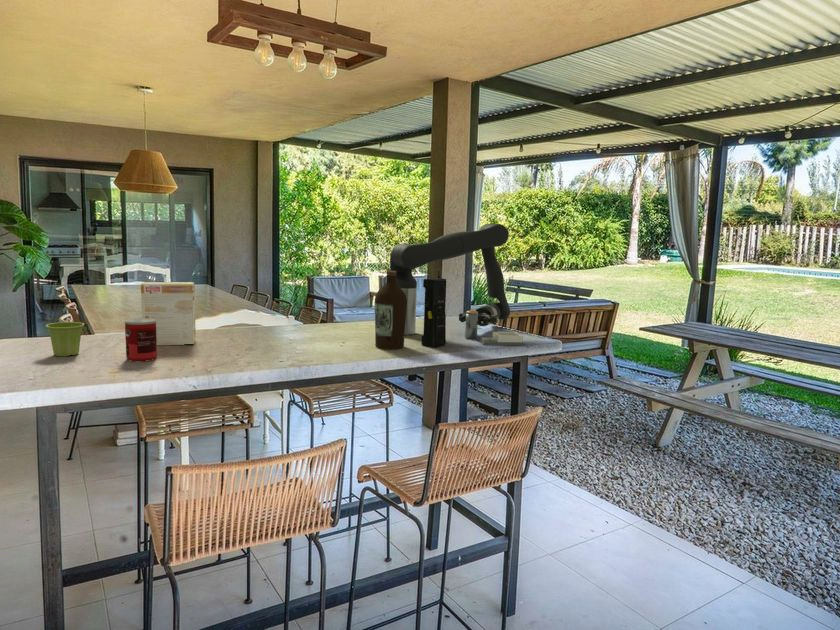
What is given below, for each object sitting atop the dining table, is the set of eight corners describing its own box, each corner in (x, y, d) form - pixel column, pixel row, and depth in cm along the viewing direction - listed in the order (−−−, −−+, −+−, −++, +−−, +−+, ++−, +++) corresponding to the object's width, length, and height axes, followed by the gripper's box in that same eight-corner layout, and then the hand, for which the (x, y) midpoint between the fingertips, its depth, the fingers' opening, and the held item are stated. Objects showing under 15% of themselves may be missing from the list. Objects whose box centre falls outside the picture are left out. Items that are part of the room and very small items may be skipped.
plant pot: (90, 351, 173) (89, 322, 172) (78, 358, 164) (76, 327, 163) (56, 351, 172) (54, 321, 170) (41, 358, 162) (39, 327, 161)
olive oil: (385, 342, 202) (387, 269, 199) (411, 346, 196) (414, 271, 193) (367, 347, 193) (368, 270, 190) (393, 351, 188) (395, 272, 184)
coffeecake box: (196, 341, 194) (195, 281, 191) (193, 345, 187) (192, 283, 184) (146, 341, 190) (144, 281, 187) (142, 346, 183) (140, 283, 180)
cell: (466, 339, 213) (467, 310, 211) (463, 337, 217) (465, 308, 216) (478, 339, 213) (479, 310, 212) (475, 337, 218) (476, 309, 216)
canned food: (134, 355, 169) (133, 317, 168) (162, 356, 169) (161, 318, 168) (120, 361, 162) (119, 321, 160) (149, 362, 162) (147, 322, 160)
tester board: (483, 344, 204) (484, 335, 203) (478, 340, 212) (478, 331, 212) (523, 345, 205) (523, 336, 205) (515, 340, 214) (516, 331, 214)
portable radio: (433, 348, 195) (436, 272, 191) (418, 345, 198) (421, 271, 195) (446, 345, 201) (449, 271, 197) (432, 342, 204) (435, 270, 201)
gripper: (468, 304, 232) (454, 308, 218) (503, 307, 227) (492, 311, 212) (467, 323, 233) (453, 328, 219) (502, 326, 228) (491, 332, 213)
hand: (472, 320), depth 215 cm, fingers open, 8 cm apart
